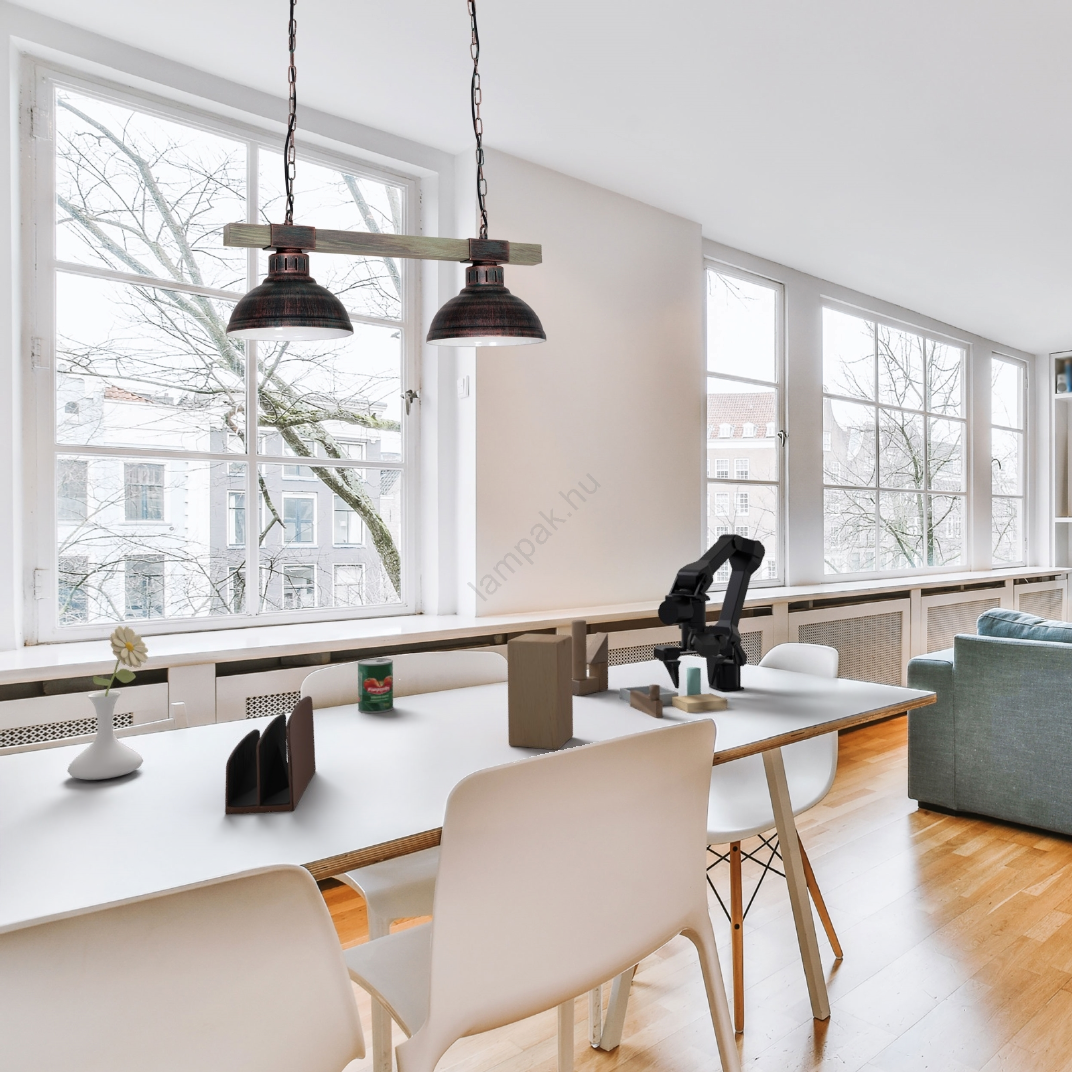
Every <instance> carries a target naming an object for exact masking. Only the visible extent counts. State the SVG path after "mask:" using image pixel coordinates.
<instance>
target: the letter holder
mask: <svg viewBox="0 0 1072 1072" xmlns="http://www.w3.org/2000/svg"><path fill="white" fill-rule="evenodd" d="M313 704H314V703H313V698H312V696H310V695H307V696H304V697H303V698H302V699H300V700H299V701H298V703H297V704H296V705H295V706H294V708H293V710H292V712H291V713H290V715H289V717H288V719H287V716H286V714H285V713H281V714H278V715H277V716H276V717H274V718H273V719H272V720H271V721H270V723H269V724H267V726H266V728H265V729H264V730H263V732H262V733H261V732H260V731H261V730H260V729H257V728H255V729H253V730H251V731H250V732H249V733H247V734H245V736H243V738H242V739H241V740H240V741H239V742H238V744H237V745H236V746H235V747H234V749H233V750H232V752H231V753H230V755H229V756H228V759H227V762H226V765H225V791H224V792H225V793H224V794H225V796H224V797H225V798H224V800H225V801H224V804H225V806H224V807H225V809H224V813H225V815H238V814H239V815H240V814H242V815H243V814H263V813H264V814H265V813H266V814H267V813H284V812H294V811H295V809H296V807H297V805H298V803H299V801H300V800H301V797H302V796H303V794H304V792H305V791H306V789H307V787H308V785H309V783H310V781H311V779H312V778H313V775H315V772H316V770H317V768H316V767H317V766H316V753H315V752H316V750H315V749H316V747H315V727H314V725H315V724H314V709H313V708H314V707H313Z"/></svg>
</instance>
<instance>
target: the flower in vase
mask: <svg viewBox="0 0 1072 1072" xmlns="http://www.w3.org/2000/svg"><path fill="white" fill-rule="evenodd" d="M135 632H136V631H134V629H132V628H129V626H127V625H126V626H124V628H123V627H122V626H121V625H118V626H117V628H115V629H114V632H111V634H110V637H109V641H110V642H111V643H110V647H111V648H112V654H113V655H114V656H116V659H117V661H116V664H115V668H114V671H113V674H112V676H111V678H110V679H107V678H101V677H99V676H97V675H93V676H92V681H93V683H94V684H95V685H100V686H107V688H106V691H99V692H98V691H97V692H93V693H89V694H88V695H87V697H88V699H89V700H90V701H91V702H92V703H93V706H94V709H95V713H96V717H97V719H96V720H97V734H96V737H95V739H94V741H93V742H92V743H91V744H90V745H89V746H88V747H86V748H85V749H84V750H83V751H82V752H80V753H79V754H78V755H77V756H76V757H75V758H74V759H73V760H72V761H71V763H69V766H68V767H67V770H66V771H67V773H68V774H69V776H70V777H72V778H75V779H81V780H85V781H87V780H88V781H89V780H90V781H92V780H94V781H96V780H106V779H111V778H112V779H113V778H116V777H117V778H118V777H121V776H124V775H127V774H130V773H132V772H135V771H136V770H137V769H139V768H141V766H142V764H143V762H144V759H143V757H142V755H141V754H140V753H139V752H138V751H137V750H135V749H134V748H132V747H130V746H129V745H127V744H125V743H124V742H122V740H121V741H120V740H119V739H118V738H117V736H116V735H115V732H114V726H113V721H114V720H113V718H114V710H115V705H116V702H117V700H118V699H119V697H120V696H121V695H122V692H121V691H117V690H111V691H110V688H111V686H112V684H113V681H114V679H115V677H116V679H117V680H119V681H120V682H121V683H124V684H127V683H130V682H132V681H133V680H134V679H136V675H135V673H134V672H133V671H131V670H129V669H127V668H120V669H119V670H118V667H119V665H120V663H121V664H122V665H123V666H128V667H129V668H131V667H132V668H135V669H136V668H141V667H142V663H147V660H148V657H149V656H148V655H147V654H146V653H148V652H149V649H148V648H147V647H146V643H145V642H144V641H143V640H142V636H141V635H140V634H136V633H135Z"/></svg>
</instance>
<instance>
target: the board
mask: <svg viewBox="0 0 1072 1072" xmlns="http://www.w3.org/2000/svg"><path fill="white" fill-rule="evenodd" d="M671 705H672V707H674V708H676V709H678V710H679V711H683V712H685V713H686V714H687V713H689V714H690V713H698V712H700V713H701V712H709V711H720V710H728V699H727V698H725V697H721V696H718V695H717V694H713V693H703V694H702V693H701V694H699V695H689V696H687V695H678V697H672V704H671Z"/></svg>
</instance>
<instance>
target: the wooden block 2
mask: <svg viewBox="0 0 1072 1072" xmlns="http://www.w3.org/2000/svg"><path fill="white" fill-rule="evenodd" d="M571 637H572V687H573V696H579V697H580V696H586V695H589V694H594V693H598V692H603V691H607V690H609V662H608V661H609V633H607V632H599V631H598V632H596V633H595V636H593V638H592V640H591V642H590V644H589V645H588V647H587V620H585V619H573V620H571ZM587 669H588V671H587ZM587 672H588V673H587Z"/></svg>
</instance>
